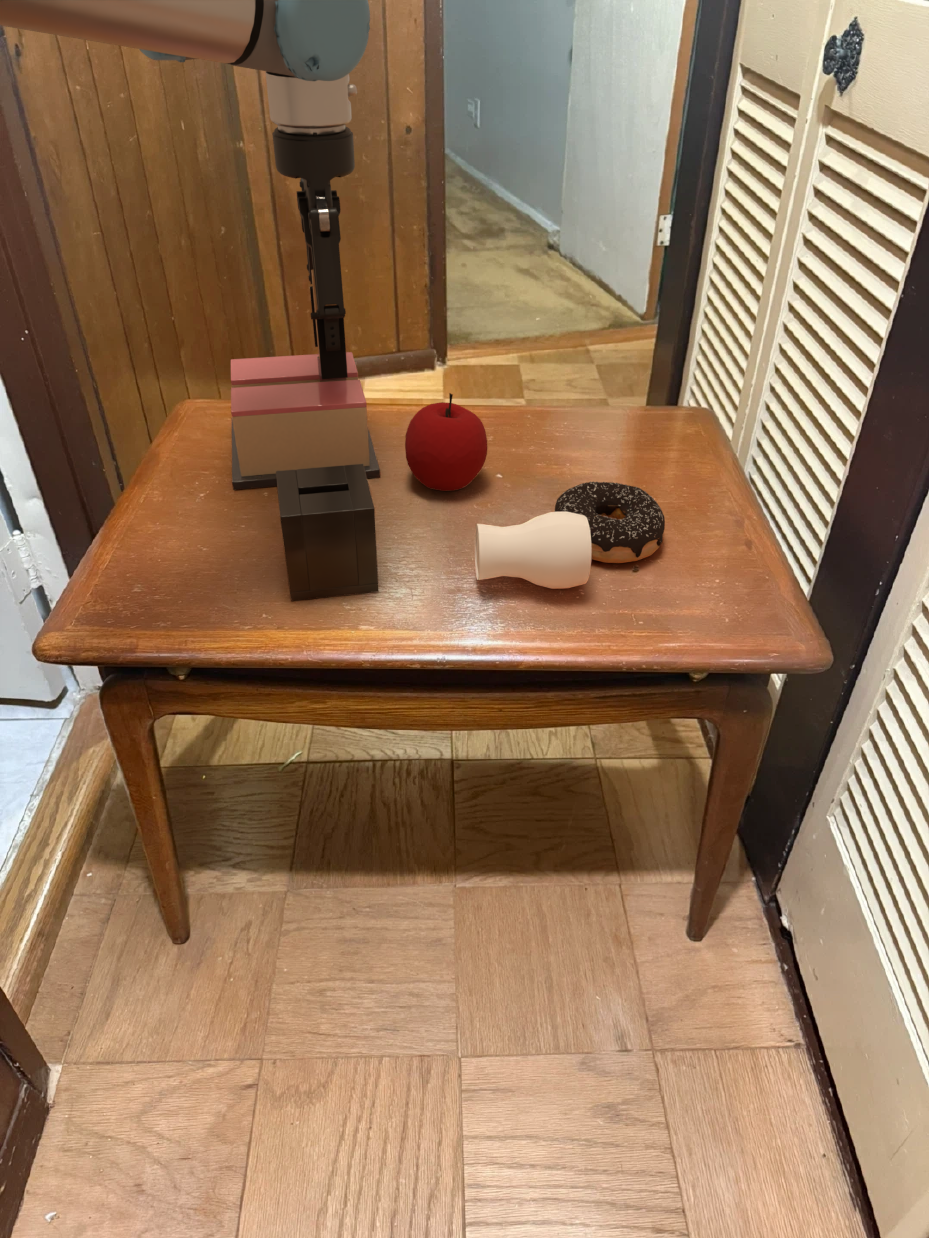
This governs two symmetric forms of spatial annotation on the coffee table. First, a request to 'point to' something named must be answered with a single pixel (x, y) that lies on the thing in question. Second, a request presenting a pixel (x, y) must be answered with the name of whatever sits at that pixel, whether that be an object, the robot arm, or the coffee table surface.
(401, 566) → the coffee table surface
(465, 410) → the apple
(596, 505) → the donut
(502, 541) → the cream ceramic vase
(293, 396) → the cake
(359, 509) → the knife block
